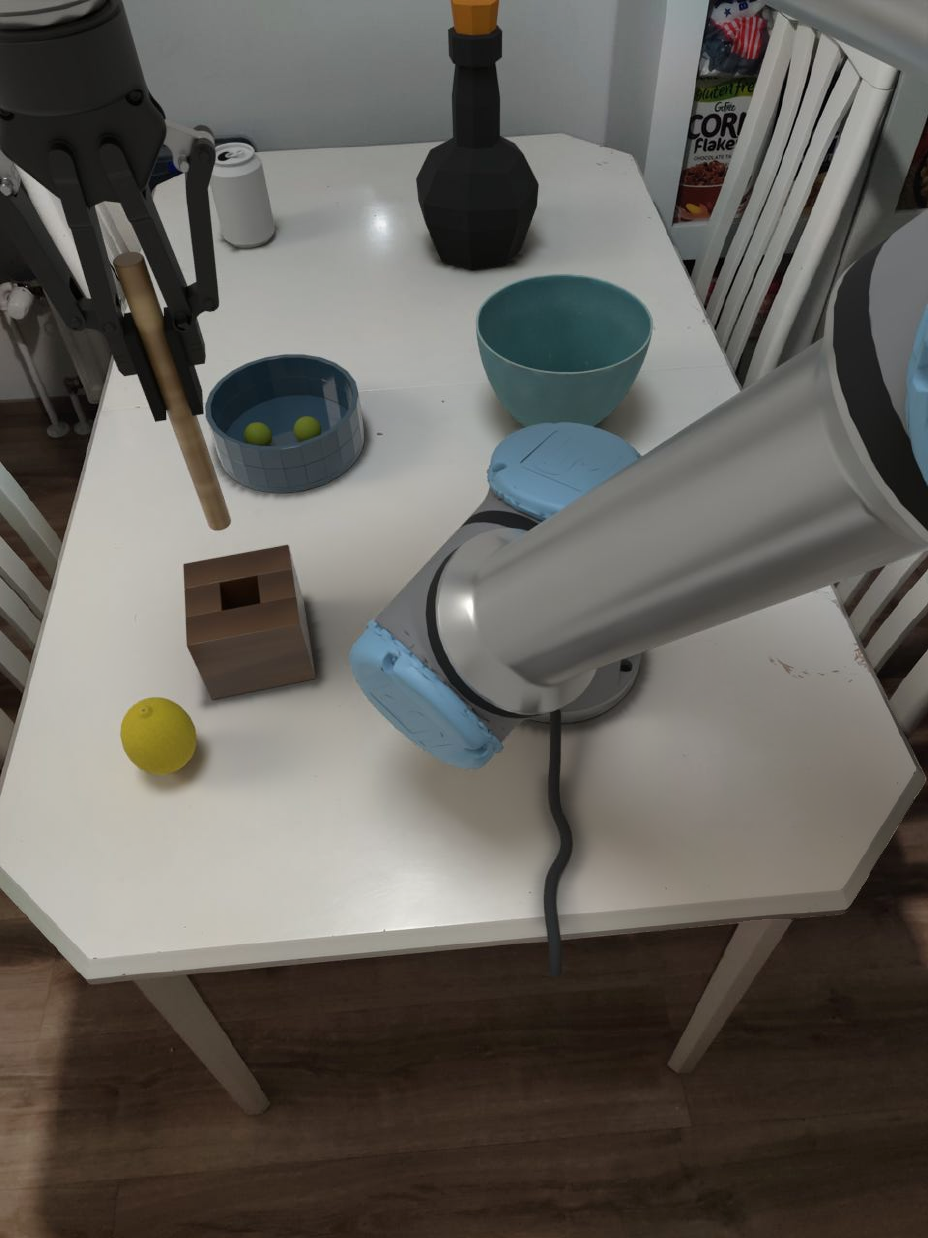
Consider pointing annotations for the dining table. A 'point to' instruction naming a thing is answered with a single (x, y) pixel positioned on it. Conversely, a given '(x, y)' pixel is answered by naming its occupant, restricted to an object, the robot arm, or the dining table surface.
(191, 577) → the stick holder
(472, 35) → the bottle
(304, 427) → the ball
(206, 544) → the dining table surface
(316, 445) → the bowl
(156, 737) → the lemon
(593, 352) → the deep teal bowl
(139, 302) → the stick
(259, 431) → the ball
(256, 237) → the can
